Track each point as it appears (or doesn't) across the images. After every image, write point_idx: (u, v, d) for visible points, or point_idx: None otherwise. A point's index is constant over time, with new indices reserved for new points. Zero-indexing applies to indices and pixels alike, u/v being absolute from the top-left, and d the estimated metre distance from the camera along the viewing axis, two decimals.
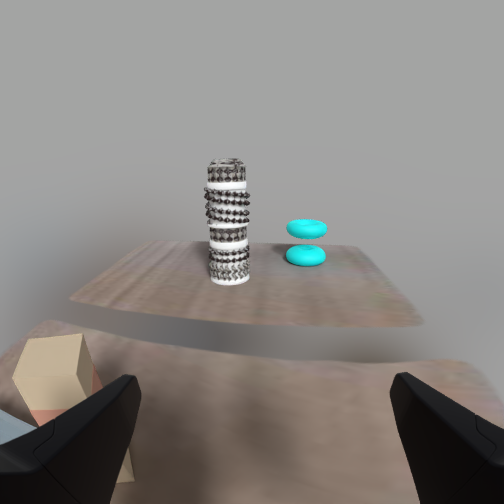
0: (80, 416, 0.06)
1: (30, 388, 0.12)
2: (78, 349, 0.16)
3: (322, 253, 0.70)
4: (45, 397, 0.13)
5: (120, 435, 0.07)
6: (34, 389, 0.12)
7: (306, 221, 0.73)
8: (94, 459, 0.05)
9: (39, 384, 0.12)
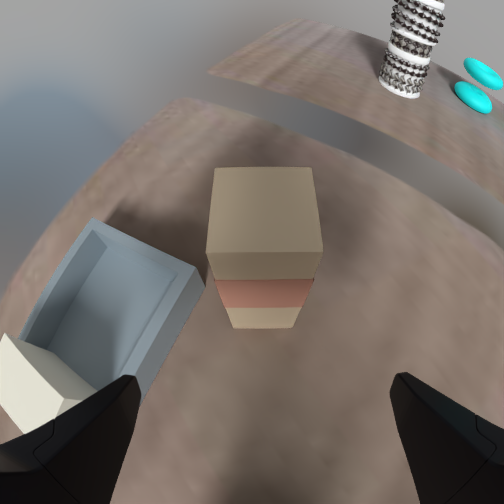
0: (80, 416, 0.06)
1: (233, 262, 0.13)
2: (314, 200, 0.13)
3: (490, 105, 0.39)
4: (252, 270, 0.13)
5: (120, 435, 0.07)
6: (239, 263, 0.13)
7: (483, 66, 0.36)
8: (94, 459, 0.05)
9: (253, 258, 0.12)
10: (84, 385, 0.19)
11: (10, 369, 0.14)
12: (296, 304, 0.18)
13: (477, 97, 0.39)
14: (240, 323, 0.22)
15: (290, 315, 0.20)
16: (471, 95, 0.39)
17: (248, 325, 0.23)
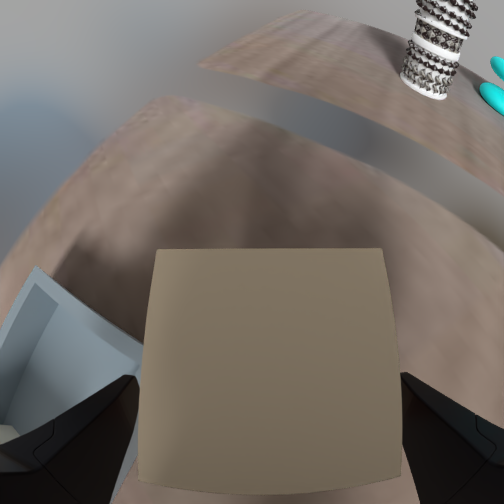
0: (80, 416, 0.06)
1: None
2: (394, 347, 0.05)
3: None
4: None
5: (120, 435, 0.07)
6: None
7: None
8: (94, 459, 0.05)
9: None
10: None
11: None
12: None
13: None
14: None
15: None
16: (499, 98, 0.31)
17: None
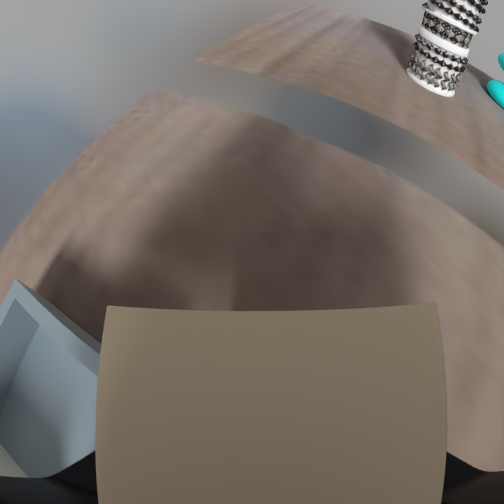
0: None
1: None
2: (442, 444, 0.03)
3: None
4: None
5: None
6: None
7: None
8: None
9: None
10: None
11: None
12: None
13: None
14: None
15: None
16: None
17: None
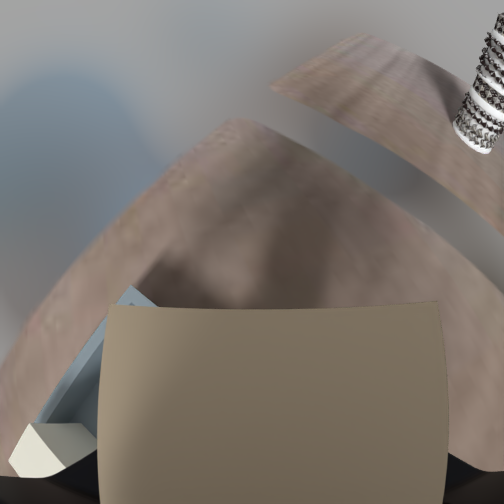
0: None
1: None
2: (444, 442, 0.03)
3: None
4: None
5: None
6: None
7: None
8: None
9: None
10: None
11: (40, 463, 0.11)
12: None
13: None
14: None
15: None
16: None
17: None
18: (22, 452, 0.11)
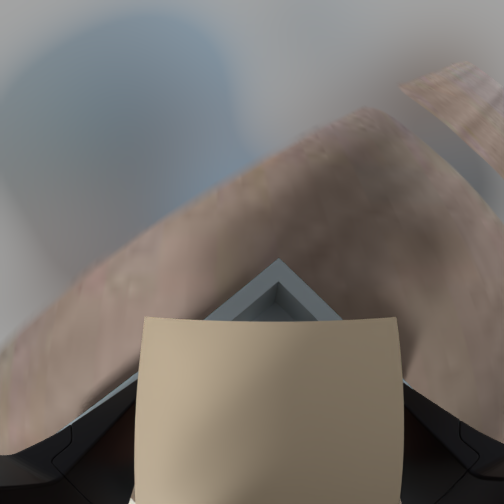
0: (99, 421, 0.06)
1: None
2: (400, 427, 0.04)
3: None
4: None
5: None
6: None
7: None
8: (113, 465, 0.05)
9: None
10: None
11: None
12: None
13: None
14: None
15: None
16: None
17: None
18: None
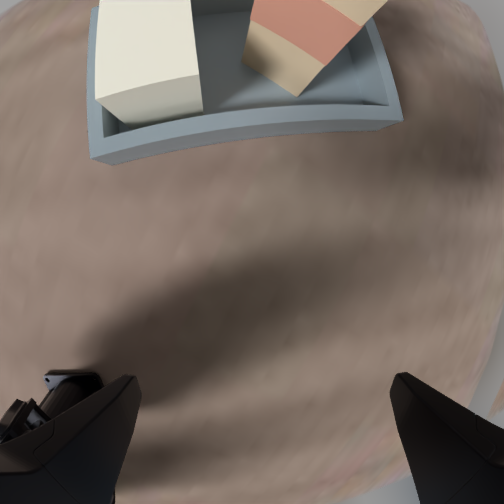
0: (80, 416, 0.06)
1: None
2: None
3: None
4: None
5: (120, 435, 0.07)
6: None
7: None
8: (94, 459, 0.05)
9: None
10: None
11: None
12: (323, 57, 0.12)
13: None
14: (251, 56, 0.16)
15: (306, 73, 0.15)
16: None
17: (257, 65, 0.17)
18: None
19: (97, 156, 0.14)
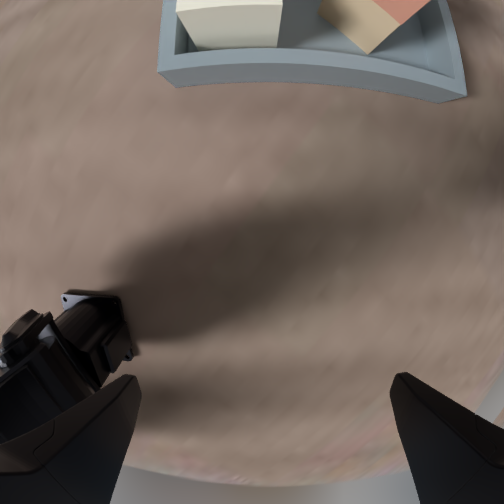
0: (80, 416, 0.06)
1: None
2: None
3: None
4: None
5: (120, 435, 0.07)
6: None
7: None
8: (94, 459, 0.05)
9: None
10: None
11: None
12: (399, 16, 0.10)
13: None
14: (328, 8, 0.14)
15: (381, 31, 0.12)
16: None
17: (332, 18, 0.14)
18: None
19: (165, 70, 0.14)
